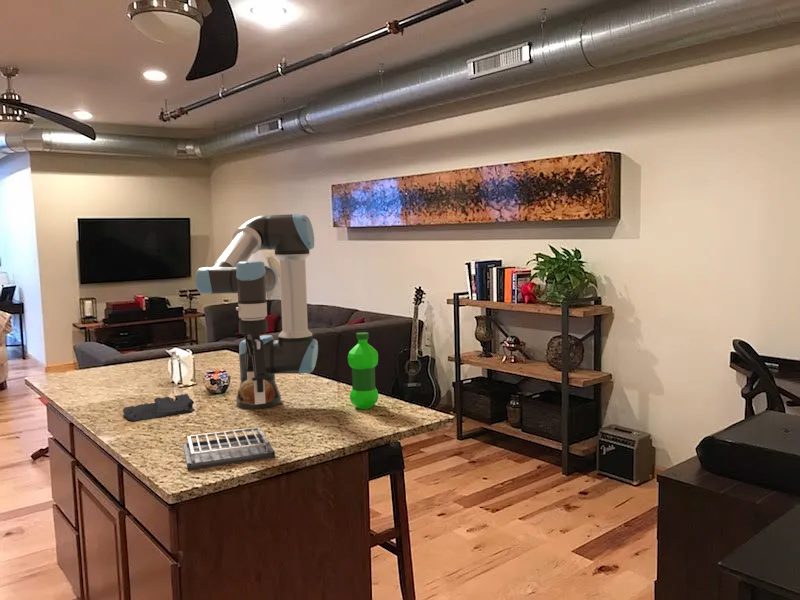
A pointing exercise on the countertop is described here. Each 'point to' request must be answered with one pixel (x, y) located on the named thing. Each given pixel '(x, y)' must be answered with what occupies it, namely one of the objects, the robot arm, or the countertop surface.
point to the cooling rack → (227, 449)
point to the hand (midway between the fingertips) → (256, 398)
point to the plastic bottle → (363, 373)
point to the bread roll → (248, 392)
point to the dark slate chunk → (160, 408)
